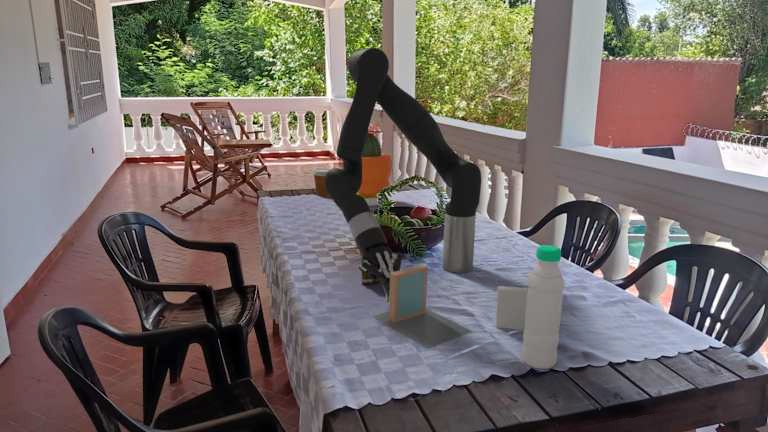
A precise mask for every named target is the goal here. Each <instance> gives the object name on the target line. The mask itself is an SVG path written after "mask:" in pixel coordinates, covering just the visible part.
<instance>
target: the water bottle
mask: <svg viewBox="0 0 768 432" xmlns="http://www.w3.org/2000/svg"><path fill="white" fill-rule="evenodd" d="M535 255H536V261H537V264H536V265H535V267H534V268H533V270H532V272H531V274H530V275H529V276H528V278H527V286H528V287H527V288H528V293H527V300H526V311H525V329H524V331H523V335H522V336H523V338H522V340H523V345H522V349H521V360H522V361H523V363H524V364H525V365H527V366H529V367H531V368H534V369H537V370H546V369H547V370H548V369H551V368H553V367H555V366H556V364H557V360H558V346H559V340H560V335H559V331H560V326H561V325H560V324H561V319H562V311H563V310H562V309H563V300H564V299H563V298H564V297H563V292H564V289H565V280H564V278H563V275H562V272H561V269H560V268H559V266H558V265H559V263H561V262H560V261H561V257H562V250H561V248H559V247H558V246H554V245H549V244H543V245H540V246H539V245H538V247H537V248H536V252H535Z"/></svg>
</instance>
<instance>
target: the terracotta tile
mask: <svg viewBox="0 0 768 432" xmlns="http://www.w3.org/2000/svg"><path fill="white" fill-rule="evenodd" d="M427 289H428V266H426V265H424V264H420V265H415V266H412V267H408V268H404V269H400V270H399V271H395V272H392V273H390V293H389V297H388V298H389V299H388V300H389V301H388V302H389V303H388V305H389V306H388V309H389V320H390V321H392V322H393V323H396V322H399V321H402V320H405V319H408V318H411V317H414V316H418V315H421V314H424V313H426V308H427V295H428V294H427Z"/></svg>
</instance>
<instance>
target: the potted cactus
mask: <svg viewBox="0 0 768 432" xmlns="http://www.w3.org/2000/svg"><path fill="white" fill-rule="evenodd" d="M379 126H380V124H379V123H378V124H377V123H375V124H374V125H373V126H371V127H369V128H368V132H367V137H366V141H365V146H364V150H363V151H362V152H363V154H362V184H361V187H360V189H359V191H358V192H357V193H356V194H357V195H360V196H362V197H363V198H364V199H365V200H366V202H367V204H368V206H369V207H370V206H378V205H377V199H378V194H379V193H380V191H381V190H382V189H383V188H384V187H386V186H389V187H390V181H389V178H390V177H391V173H392V166H393V165H392V164H393V163H392V156H391V154H389V153H386V152H383V151H382V150H383V148H382V144H381V143H382V142H381V139H378V138H379V137H378V136H377V134H381V133H383V131H382V130H376V129H378V128H379Z"/></svg>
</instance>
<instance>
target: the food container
mask: <svg viewBox="0 0 768 432" xmlns="http://www.w3.org/2000/svg"><path fill="white" fill-rule="evenodd" d="M360 261H361V264H362V263H363V255H361V254H360ZM380 282H381V283H382V281H375V280H374V279H372V278H371V277H369V276H368V275H366V274H365V273H363V272H362V271H361V285H362V286H363V285H364V286H368V285H376V284H381V283H380Z"/></svg>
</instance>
